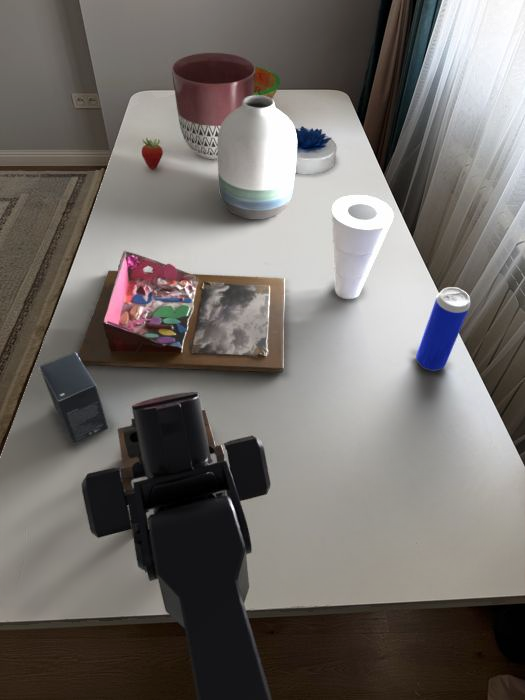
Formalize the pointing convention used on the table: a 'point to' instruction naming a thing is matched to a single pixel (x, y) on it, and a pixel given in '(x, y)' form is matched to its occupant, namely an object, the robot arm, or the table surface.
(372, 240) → the stacked toilet paper rolls
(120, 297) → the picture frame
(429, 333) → the beverage can
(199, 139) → the planter
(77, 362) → the box
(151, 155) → the fruit
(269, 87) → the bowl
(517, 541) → the table surface
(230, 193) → the vase
